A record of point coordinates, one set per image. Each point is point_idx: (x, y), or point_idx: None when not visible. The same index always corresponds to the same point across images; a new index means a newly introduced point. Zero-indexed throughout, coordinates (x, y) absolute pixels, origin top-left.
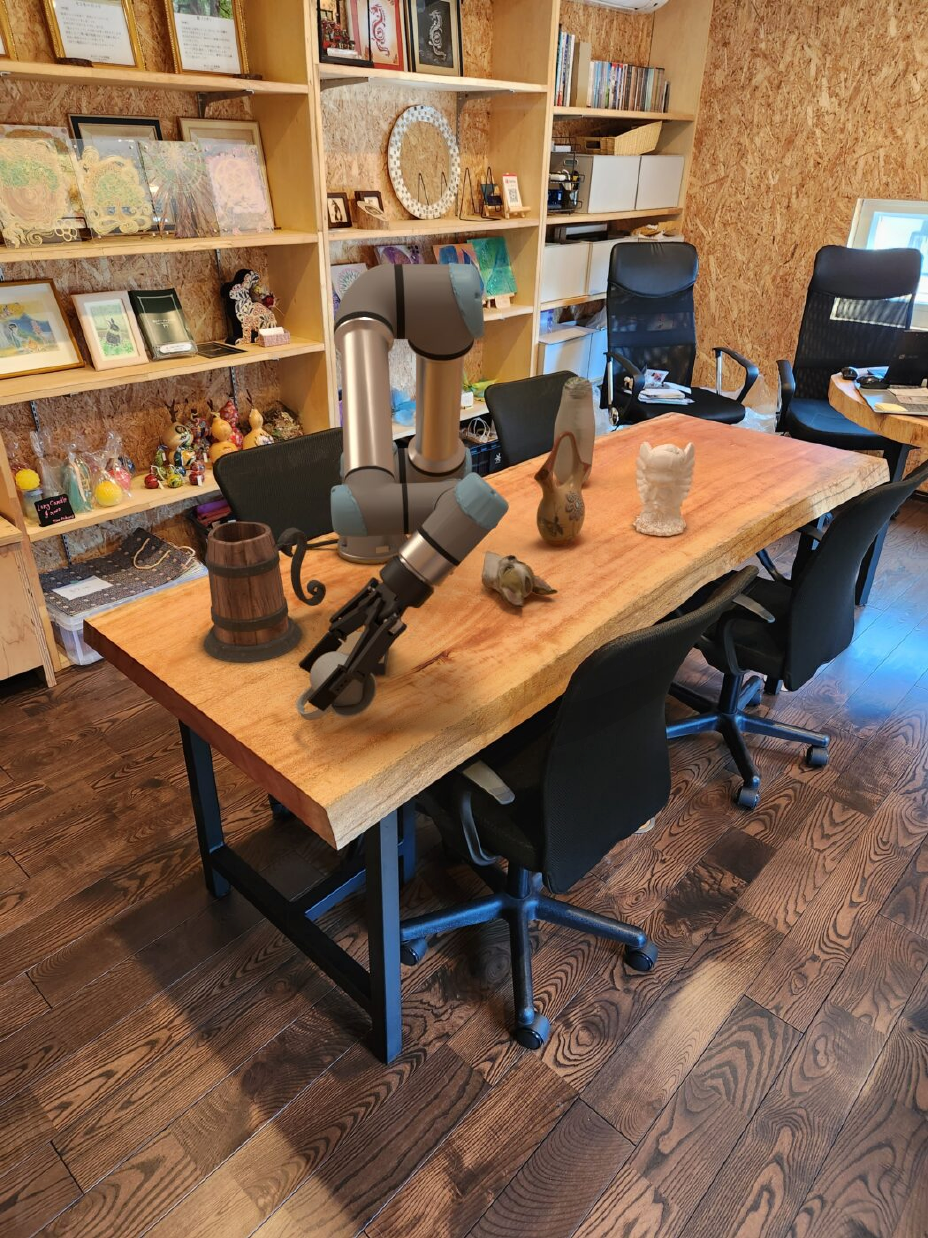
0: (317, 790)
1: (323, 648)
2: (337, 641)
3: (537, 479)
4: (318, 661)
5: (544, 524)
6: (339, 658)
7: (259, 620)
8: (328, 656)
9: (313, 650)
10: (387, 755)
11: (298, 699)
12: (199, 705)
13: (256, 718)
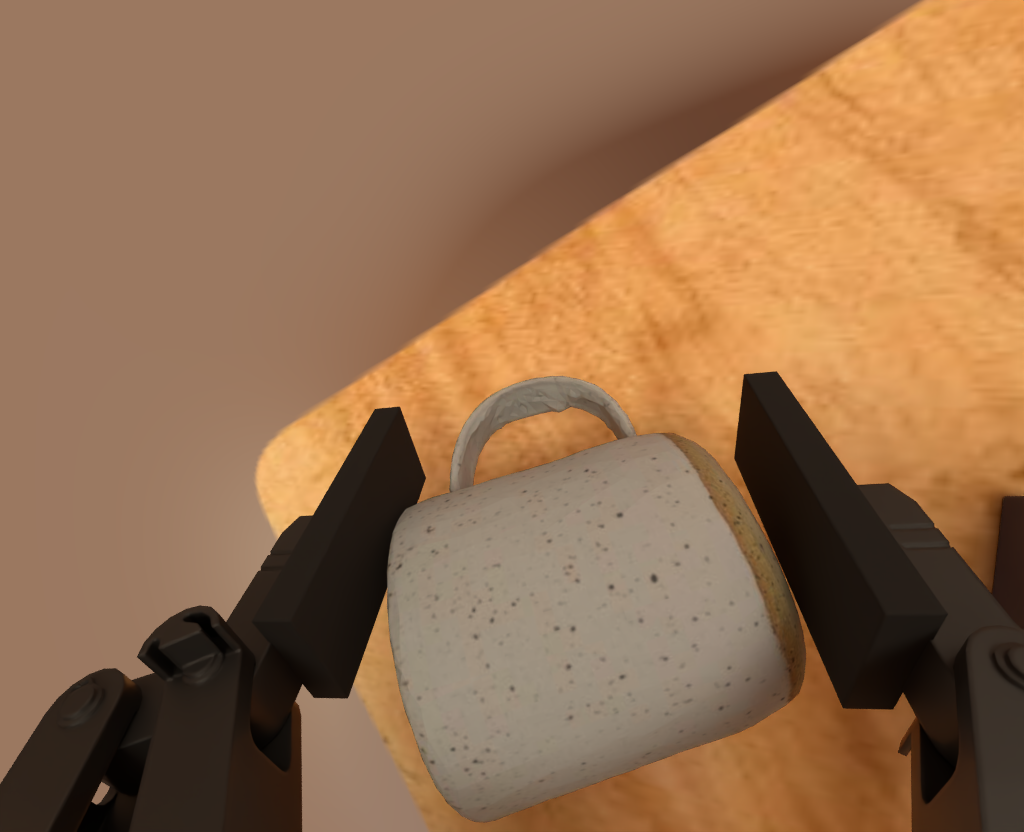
0: (295, 442)
1: (808, 537)
2: (852, 676)
3: None
4: (671, 484)
5: None
6: (608, 639)
7: None
8: (670, 560)
9: (799, 458)
10: (385, 675)
11: (587, 384)
12: (814, 80)
13: (693, 266)
